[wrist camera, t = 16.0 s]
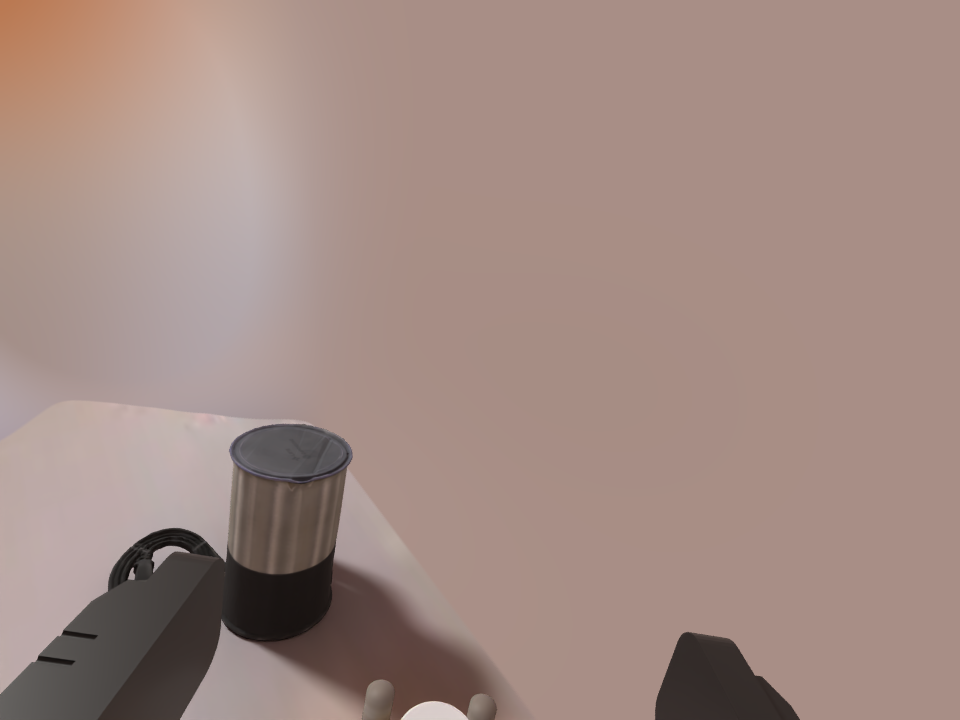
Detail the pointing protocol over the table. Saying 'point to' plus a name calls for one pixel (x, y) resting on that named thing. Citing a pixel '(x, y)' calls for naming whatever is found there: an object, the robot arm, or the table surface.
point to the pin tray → (383, 695)
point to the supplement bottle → (434, 712)
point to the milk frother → (270, 531)
